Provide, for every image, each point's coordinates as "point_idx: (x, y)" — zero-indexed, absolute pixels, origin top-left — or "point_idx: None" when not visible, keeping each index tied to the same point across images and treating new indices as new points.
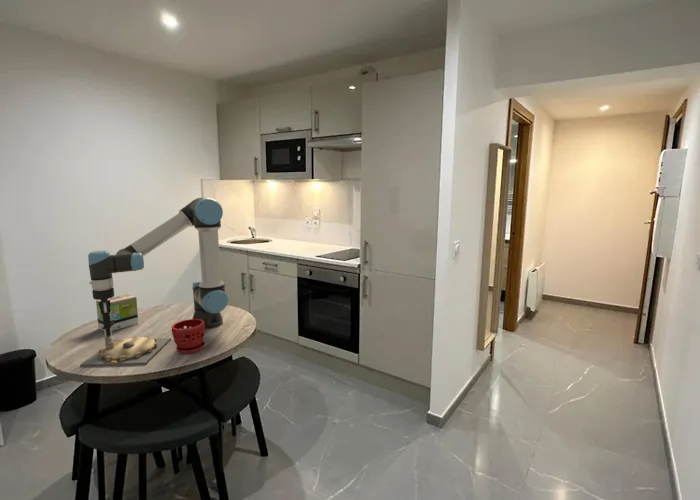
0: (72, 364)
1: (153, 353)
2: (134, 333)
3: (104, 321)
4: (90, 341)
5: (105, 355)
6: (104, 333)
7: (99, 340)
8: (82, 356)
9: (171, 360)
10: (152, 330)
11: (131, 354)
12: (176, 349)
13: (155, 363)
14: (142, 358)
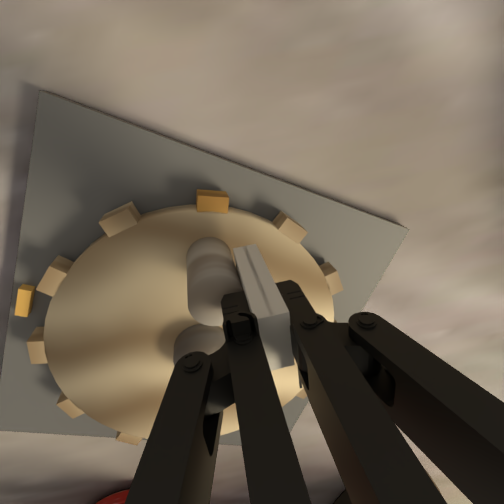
0: (117, 19)
1: (109, 432)
2: (457, 293)
3: (140, 478)
4: (501, 80)
5: (81, 257)
6: (245, 289)
7: (479, 136)
8: (252, 71)
9: (32, 486)
10: (441, 356)
11: (58, 385)
12: (113, 501)
13: (10, 445)
14: (53, 407)
